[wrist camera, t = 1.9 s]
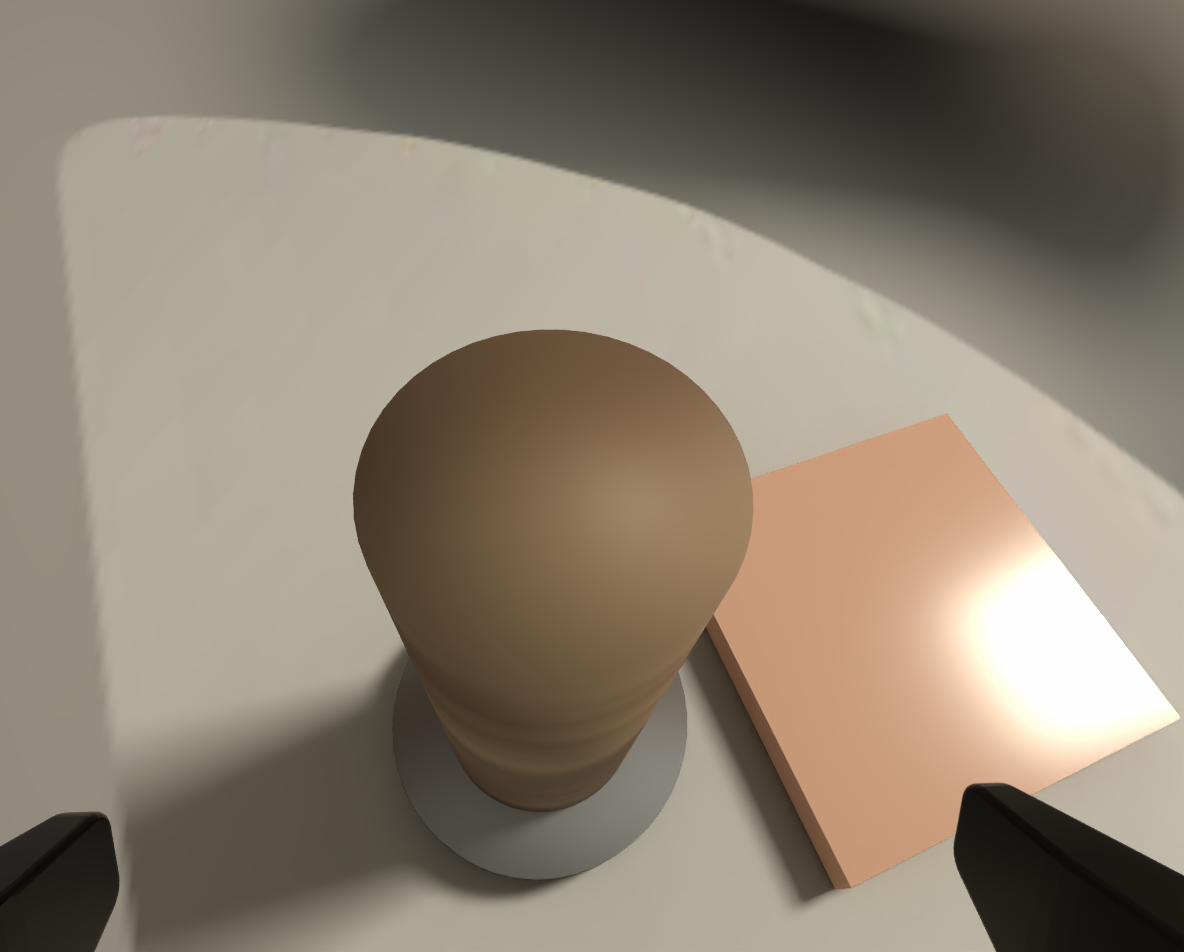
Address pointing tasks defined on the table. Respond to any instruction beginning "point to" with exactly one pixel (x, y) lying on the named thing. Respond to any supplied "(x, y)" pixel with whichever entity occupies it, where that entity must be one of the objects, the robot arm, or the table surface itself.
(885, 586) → the tile rest
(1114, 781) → the table surface
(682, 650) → the tamper
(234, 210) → the table surface
